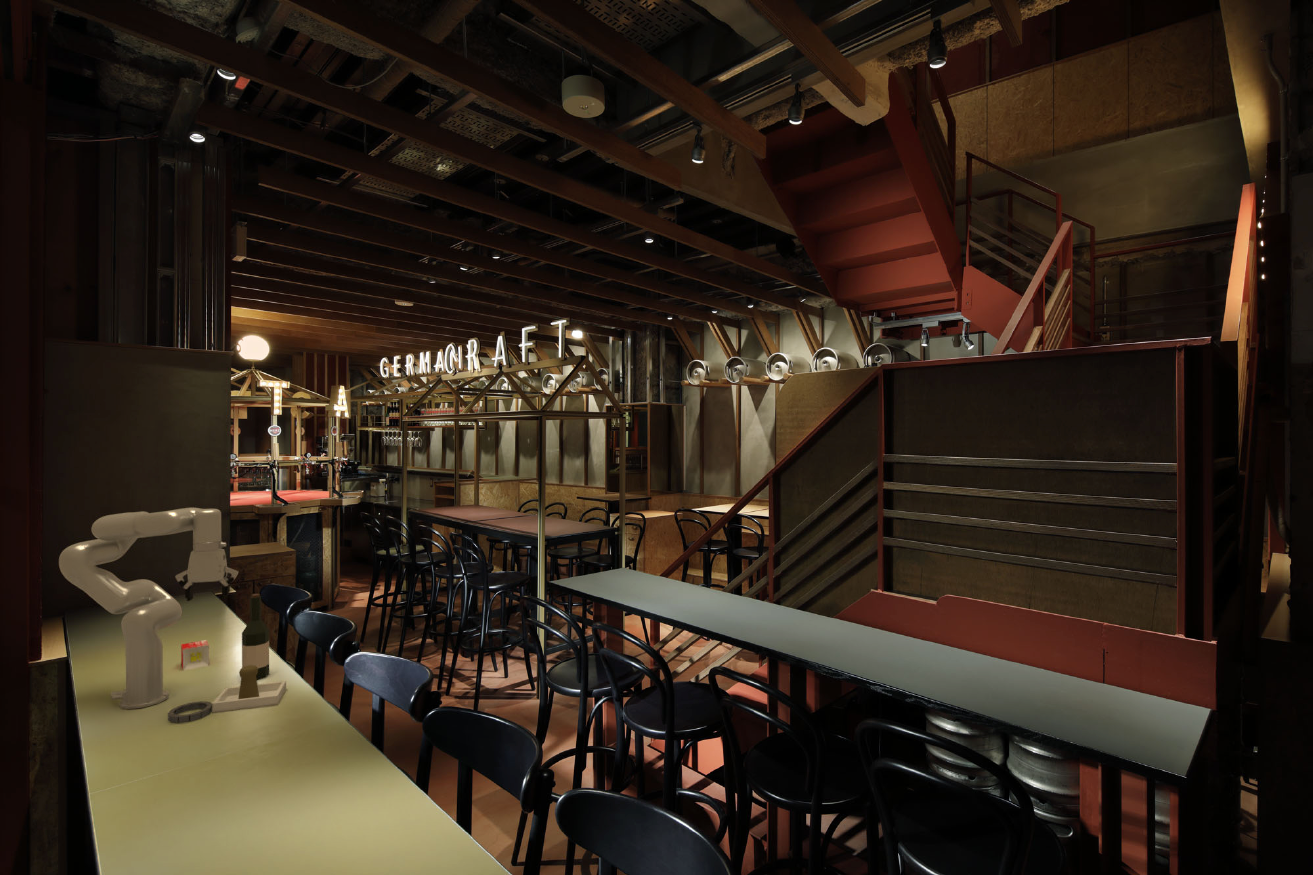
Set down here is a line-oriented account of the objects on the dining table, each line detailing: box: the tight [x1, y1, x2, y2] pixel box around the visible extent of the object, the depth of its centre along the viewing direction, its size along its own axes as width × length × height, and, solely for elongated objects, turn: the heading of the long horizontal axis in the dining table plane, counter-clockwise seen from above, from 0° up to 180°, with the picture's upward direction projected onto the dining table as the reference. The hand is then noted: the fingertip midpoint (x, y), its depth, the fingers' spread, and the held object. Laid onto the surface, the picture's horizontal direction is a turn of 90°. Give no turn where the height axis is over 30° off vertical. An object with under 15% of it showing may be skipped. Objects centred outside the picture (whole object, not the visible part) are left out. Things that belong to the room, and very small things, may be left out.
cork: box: [238, 665, 259, 699], centre depth 208 cm, size 6×6×11 cm
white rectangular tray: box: [211, 680, 287, 714], centre depth 208 cm, size 18×13×3 cm
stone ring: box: [167, 700, 213, 724], centre depth 198 cm, size 11×11×2 cm
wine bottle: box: [241, 593, 270, 681], centre depth 229 cm, size 8×8×30 cm
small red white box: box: [180, 639, 210, 671], centre depth 240 cm, size 8×8×8 cm
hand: (207, 598), depth 207 cm, fingers open, 9 cm apart
